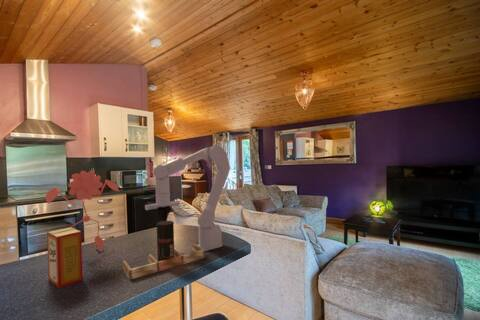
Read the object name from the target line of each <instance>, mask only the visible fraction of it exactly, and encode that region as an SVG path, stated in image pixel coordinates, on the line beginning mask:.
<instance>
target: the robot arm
mask: <svg viewBox="0 0 480 320" xmlns="http://www.w3.org/2000/svg"><path fill="white" fill-rule="evenodd" d="M225 150H226V149H224V148H223V147H222V146H221V145H217V144H214V145H212V146H209V147H204V148H202V149H200V150H198V151H196V152H195V153H192V154H190V155H188V156H186V157H184V158H183V157H179V156H178V157H177V156H175V157H173V159H172V160H170V161H164V162H163V163H162V164H158V165H157V166H155V167H154V169H153V171H152V172H153V177H155V184H154V185H155V203H150V204H144V209H145V210H146V211H150V210H155V211H156V213H157V215H158V217H159V221H160V222H161V221H168V217H169V215H170V212H171V210H172V207H179V206H181V201H179V200H173V201H171V196H170V195H171V192H170V176H173V175H174V174H177V173H179V172H182V171H184V170H185V169H186V167H187V165H190V164H193V163H195V162H198V161H200V160H202V159H211V160H212V161H213V162H215V165H216V167H217V169H218V170H217V173H216V176H215V178H214V182H213V185H212V187H211V189H210V193H209V195H208V198H207V201H206V203H205V206H204V208H203V210H202V212H201V214H200V215H199V216H198V217H197V224H198V226H197V227H198V244H196V245H197V246H199V247H201V248H202V249H204V250H205V252H207V251H210V250H215V249H218V248H221V247H223V246H224V245H223V241H222V240H223V239H222V237H223V236H222V229H221V226H220V225H219V224H216V223H215V222H214V220H215V218H216V215H215V213H216V209H217V206H218V203H219V201H220V199H221V198H220V197H221V194H222V192H223V189H224V187H225V184H226V181H227V179H228V176H229V172H230V170H231V166H230V161H229V156H228V154H227V152H226V151H225Z"/></svg>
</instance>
